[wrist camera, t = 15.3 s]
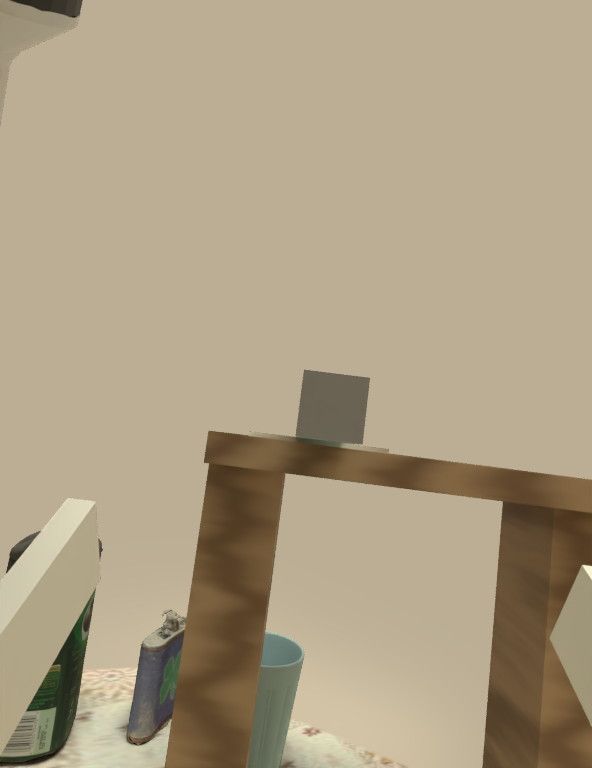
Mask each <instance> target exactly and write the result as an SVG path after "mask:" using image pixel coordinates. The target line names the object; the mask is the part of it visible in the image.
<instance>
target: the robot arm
mask: <svg viewBox="0 0 592 768" xmlns="http://www.w3.org/2000/svg"><path fill="white" fill-rule="evenodd" d="M81 5H82V0H0V124H1V118H2V111H3V105H4V99H5V92H6V86H7V80H8V74H9V67H10V65H11V63H12V61H13V60H14V59H15V58H16V57H17V56H18V55H19V54H20V53H21V52H22V51H24V50H26V49H29V48H31V47H33V46H35V45H38V44H40V43H42V42H44V41H47V40H49V39H51V38H53V37H56V36H58V35H60V34H62V33H65V32H67V31H69V30H72V29H73V28H75V27H76V26H77V24H78V20H79V17H80V10H81ZM100 579H101V574H100V557H99V542H98V526H97V512H96V502H94V501H87V500H79V499H72V498H68V499H67V500H66V501H65V502H64V504H63V505H62V506H61V507H60V509H59V510H58V511H57V512H56V514H55V515H54V516H53V517H52V518H51V520H50V521H49V522H48V523H47V525H46V526H45V527H44V528H43V529H42V531H41V532H40V533H39V534H38V536H37V537H36V538H35V539H34V540H33V542H32V543H31V544H30V545H29V547H28V548H27V549H26V550H25V552H24V553H23V554H22V555H21V556H20V558H19V559H18V560H17V561H16V563H15V564H14V565H13V566H12V568H11V569H10V570H9V571H8V572H7V574H6V575H5V576H4V577H3V579H2V580H1V581H0V756H1V754H2V752H3V750H4V748H5V747H6V745H7V743H8V741H9V740H10V738H11V736H12V734H13V733H14V731H15V729H16V727H17V726H18V724H19V722H20V720H21V719H22V717H23V715H24V713H25V711H26V710H27V708H28V706H29V704H30V703H31V701H32V699H33V697H34V696H35V694H36V692H37V690H38V689H39V687H40V685H41V683H42V682H43V680H44V678H45V676H46V674H47V673H48V671H49V669H50V667H51V666H52V664H53V662H54V660H55V659H56V657H57V655H58V653H59V652H60V650H61V648H62V646H63V645H64V643H65V641H66V639H67V637H68V636H69V634H70V632H71V630H72V629H73V627H74V625H75V623H76V622H77V620H78V618H79V616H80V615H81V613H82V611H83V609H84V608H85V606H86V604H87V602H88V600H89V599H90V597H91V595H92V593H93V592H94V590H95V588H96V586H97V585H98V583H99V581H100ZM550 640H551V642H552V644H553V647H554V649H555V651H556V653H557V655H558V657H559V659H560V661H561V663H562V665H563V668H564V670H565V672H566V674H567V676H568V678H569V680H570V682H571V684H572V686H573V689H574V691H575V693H576V695H577V697H578V699H579V701H580V703H581V705H582V707H583V710H584V712H585V714H586V716H587V718H588V720H589V722H590V724H591V726H592V566H587V565H582V566H581V568H580V570H579V573H578V575H577V577H576V579H575V582H574V584H573V586H572V588H571V591H570V593H569V595H568V597H567V600H566V602H565V604H564V606H563V609H562V611H561V613H560V615H559V618H558V620H557V622H556V624H555V627H554V629H553V631H552V633H551V636H550Z"/></svg>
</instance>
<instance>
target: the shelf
mask: <svg viewBox="0 0 592 768" xmlns="http://www.w3.org/2000/svg"><path fill="white" fill-rule="evenodd" d="M388 452H389V449H383V448H376V447H368V446H360V445H352V444H345V443H337V442H329V441H321V440H314V439H306V438H298V437H290V436H282V435H274V434H267V433H259V432H251V431H250V432H249V436H248V435H240V434H232V433H224V432H215V431H209V432H208V439H207V445H206V452H205V459H204V463H209V469H208V476H207V482H206V490H205V497H204V503H203V510H202V517H201V523H200V531H199V537H198V544H197V551H196V558H195V564H194V571H193V578H192V585H191V592H190V599H189V605H188V612H187V619H186V626H185V633H184V640H183V646H182V653H181V660H180V667H179V674H178V681H177V688H176V694H175V701H174V708H173V715H172V722H171V729H170V735H169V742H168V749H167V756H166V763H165V768H248V761H249V754H250V746H251V738H252V730H253V722H254V715H255V707H256V699H257V691H258V683H259V676H260V668H261V660H262V652H263V644H264V637H265V629H266V621H267V613H268V605H269V597H270V590H271V582H272V574H273V566H274V558H275V551H276V543H277V535H278V527H279V520H280V512H281V504H282V495H283V488H284V480H285V473H288V474H296V475H304V476H311V477H319V478H328V479H335V480H342V481H350V482H358V483H365V484H373V485H381V486H388V487H397V488H404V489H412V490H419V491H427V492H435V493H442V494H450V495H458V496H466V497H474V498H481V499H490V500H497V501H503V508H502V521H501V534H500V547H499V560H498V573H497V587H496V600H495V612H494V625H493V638H492V651H491V663H490V676H489V690H488V702H487V716H486V728H485V743H484V755H483V767H482V768H592V726H591V724H590V722H589V720H588V718H587V716H586V714H585V712H584V710H583V707H582V705H581V703H580V701H579V699H578V697H577V695H576V693H575V691H574V689H573V686H572V684H571V682H570V680H569V678H568V676H567V674H566V672H565V670H564V668H563V665H562V663H561V661H560V659H559V657H558V655H557V653H556V651H555V649H554V647H553V644H552V642H551V640H550V636H551V633H552V631H553V629H554V627H555V624H556V622H557V620H558V618H559V615H560V613H561V611H562V609H563V606H564V604H565V602H566V600H567V597H568V595H569V593H570V591H571V588H572V586H573V584H574V582H575V579H576V577H577V575H578V573H579V570H580V568H581V566H582V565H587V566H592V480H589V479H582V478H575V477H567V476H559V475H551V474H544V473H535V472H528V471H520V470H513V469H505V468H497V467H490V466H482V465H473V464H466V463H458V462H450V461H443V460H435V459H427V458H418V457H412V456H403V455H396V454H388Z"/></svg>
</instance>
